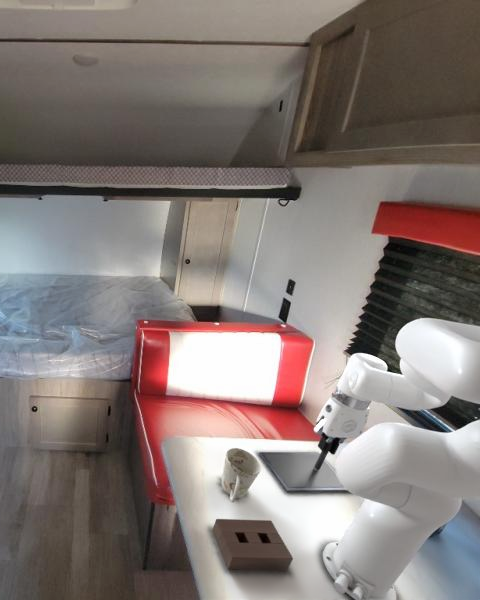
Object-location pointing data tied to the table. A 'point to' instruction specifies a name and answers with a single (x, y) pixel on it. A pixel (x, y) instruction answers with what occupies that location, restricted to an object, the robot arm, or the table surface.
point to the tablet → (302, 472)
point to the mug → (239, 472)
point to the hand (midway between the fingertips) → (325, 450)
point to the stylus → (321, 459)
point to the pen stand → (251, 545)
